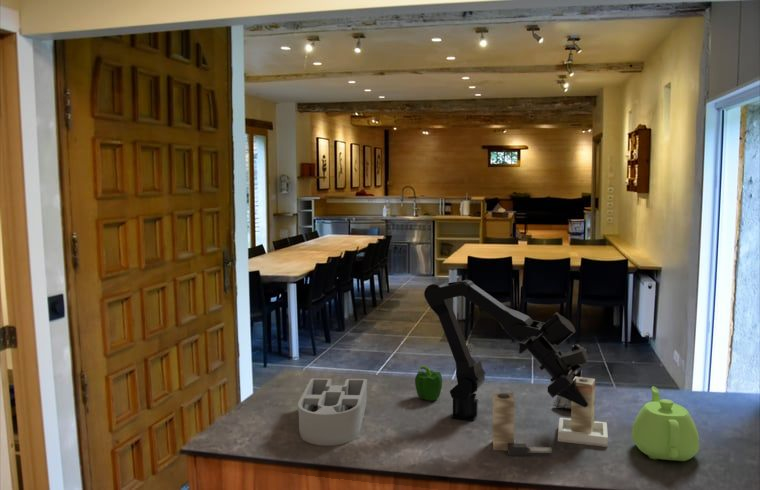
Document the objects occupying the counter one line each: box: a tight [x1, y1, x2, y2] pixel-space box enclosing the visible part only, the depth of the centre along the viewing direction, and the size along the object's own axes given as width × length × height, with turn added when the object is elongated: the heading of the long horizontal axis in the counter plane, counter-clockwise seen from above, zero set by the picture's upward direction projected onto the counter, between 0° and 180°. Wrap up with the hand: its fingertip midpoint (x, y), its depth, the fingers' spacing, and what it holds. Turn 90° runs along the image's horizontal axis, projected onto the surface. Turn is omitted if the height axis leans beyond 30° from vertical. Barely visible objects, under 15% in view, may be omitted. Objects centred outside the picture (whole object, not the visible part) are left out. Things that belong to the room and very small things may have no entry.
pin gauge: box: [506, 442, 553, 457], centre depth 155 cm, size 10×2×2 cm, turn 87°
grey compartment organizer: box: [297, 378, 368, 446], centre depth 174 cm, size 17×28×9 cm, turn 176°
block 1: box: [492, 392, 515, 452], centre depth 159 cm, size 5×5×13 cm
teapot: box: [631, 386, 700, 462], centre depth 156 cm, size 22×15×13 cm
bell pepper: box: [414, 365, 443, 402], centre depth 194 cm, size 8×8×10 cm
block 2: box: [570, 376, 596, 434], centre depth 164 cm, size 5×5×13 cm
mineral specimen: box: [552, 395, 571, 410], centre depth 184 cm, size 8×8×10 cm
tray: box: [557, 417, 609, 448], centre depth 165 cm, size 12×10×2 cm
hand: (588, 402), depth 163 cm, fingers closed on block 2, 5 cm apart
